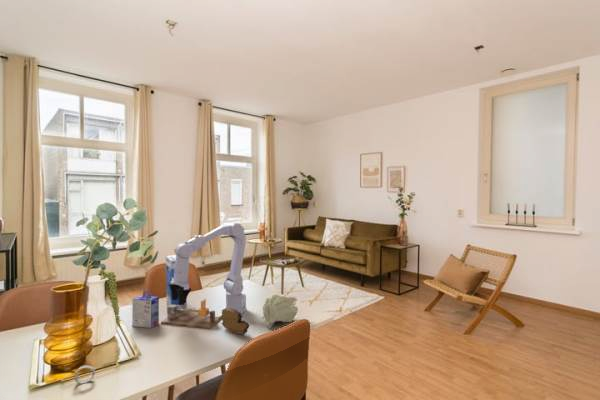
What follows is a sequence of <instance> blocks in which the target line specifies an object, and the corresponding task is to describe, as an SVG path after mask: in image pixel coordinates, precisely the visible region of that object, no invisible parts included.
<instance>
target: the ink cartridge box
mask: <svg viewBox="0 0 600 400" xmlns="http://www.w3.org/2000/svg"><path fill="white" fill-rule="evenodd" d="M142 294H143V295H139V296H136V297H134V298H133V299H132V301H131V303H132V309H131V310H132V315H131V317H132V319H131V320H132V321H131V322H132V324H131V325H132V327H139V328H148V329H151V328H153V327H155V326H157V325H159V324H160V319H159V318H160V314H159V313H160V310H159V309H160V297H159V296H152V291H147V290H145V291H143V293H142Z"/></svg>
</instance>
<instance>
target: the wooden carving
mask: <svg viewBox="0 0 600 400" xmlns="http://www.w3.org/2000/svg"><path fill="white" fill-rule="evenodd" d="M218 317H219V318H220V321H222V322H221V325H222V326H223V327H224V328H225V329H226V330H227V331H228V332H230V333H232V334H238V333H239V334H240V335H242V336H244V335H246V333H248V331H249V327H250V324H249V322H248V321H246V320H244V319H243V320H242V318H243V315H242V314H241V313H240V312H238V311H236V310H235V309H233V308H228V309H227V308H226V307H225V308H223V309H222V310H221V315H220V316H218Z"/></svg>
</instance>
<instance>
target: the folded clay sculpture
mask: <svg viewBox="0 0 600 400" xmlns="http://www.w3.org/2000/svg"><path fill="white" fill-rule="evenodd" d="M297 301H298V298H296V297H294V296H285V295H283V296H280V295H278V294H273V295H272V296H271V297H268V298H266V299H265V302H264V303H263V307H262V312H263V313H262V314H263V316H262V319H263V322H264V324H265V326H266V328H268V329H271V328H272V327H273V325H274V324H275V322H282V323H291V322H292V321H293V320H294V319H295V317H296V315H297V314H298V311H299V308H298V307H297V306H295V305H296V303H297Z"/></svg>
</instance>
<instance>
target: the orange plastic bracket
mask: <svg viewBox="0 0 600 400" xmlns="http://www.w3.org/2000/svg"><path fill="white" fill-rule="evenodd" d="M206 300H207V299H206V298H204V299H202V300H201V301H200V307H199V308H197V310H198V313H197V315H198V316H205V317H206V316H209V314H208V313H206V311H210V308H209V307H206V304H207V303H206V302H207V301H206Z"/></svg>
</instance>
